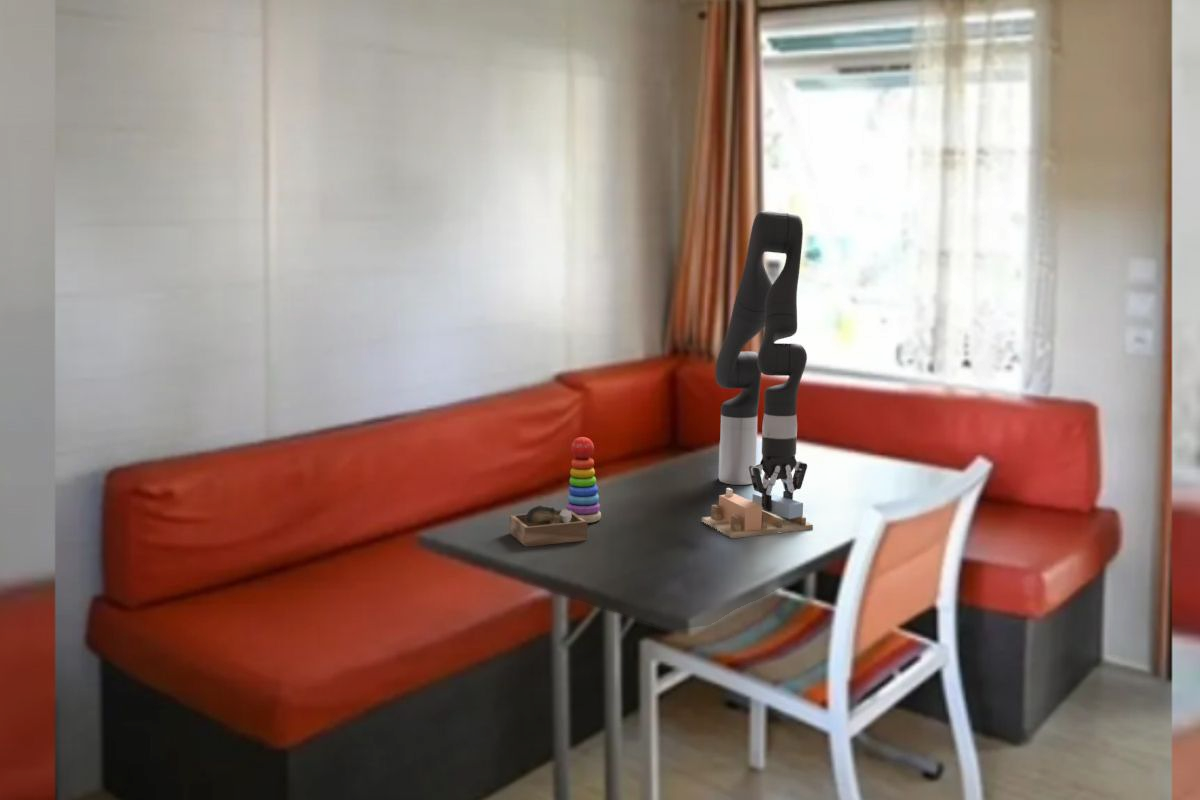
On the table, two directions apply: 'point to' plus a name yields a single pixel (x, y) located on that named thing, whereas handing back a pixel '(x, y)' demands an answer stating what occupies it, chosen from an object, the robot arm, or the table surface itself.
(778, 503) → the light blue rectangular block
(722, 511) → the knobbed wooden block
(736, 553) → the table surface
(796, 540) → the table surface
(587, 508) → the stacking toy
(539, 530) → the open wooden box
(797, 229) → the robot arm
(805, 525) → the jig
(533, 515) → the eagle figurine
